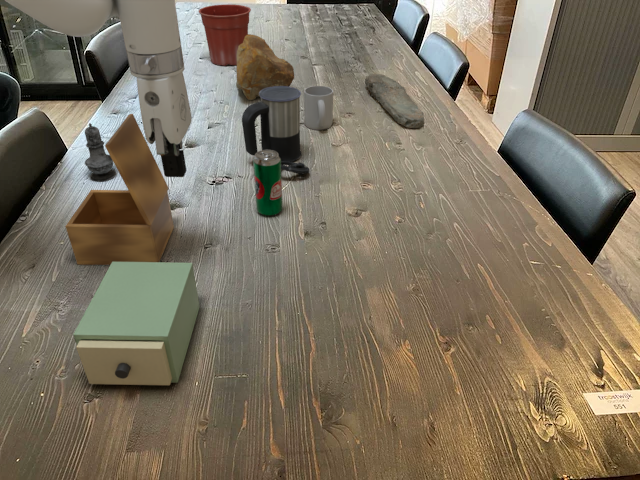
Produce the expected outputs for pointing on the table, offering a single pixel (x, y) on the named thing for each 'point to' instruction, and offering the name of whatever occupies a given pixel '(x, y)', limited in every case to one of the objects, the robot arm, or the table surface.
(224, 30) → the flower pot
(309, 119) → the cup
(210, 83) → the table surface
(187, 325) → the cabinet
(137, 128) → the lid
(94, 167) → the grey chess piece
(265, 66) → the jagged brown rock
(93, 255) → the chest
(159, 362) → the drawer
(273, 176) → the soda can
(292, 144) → the milk frother
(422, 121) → the elongated rock
